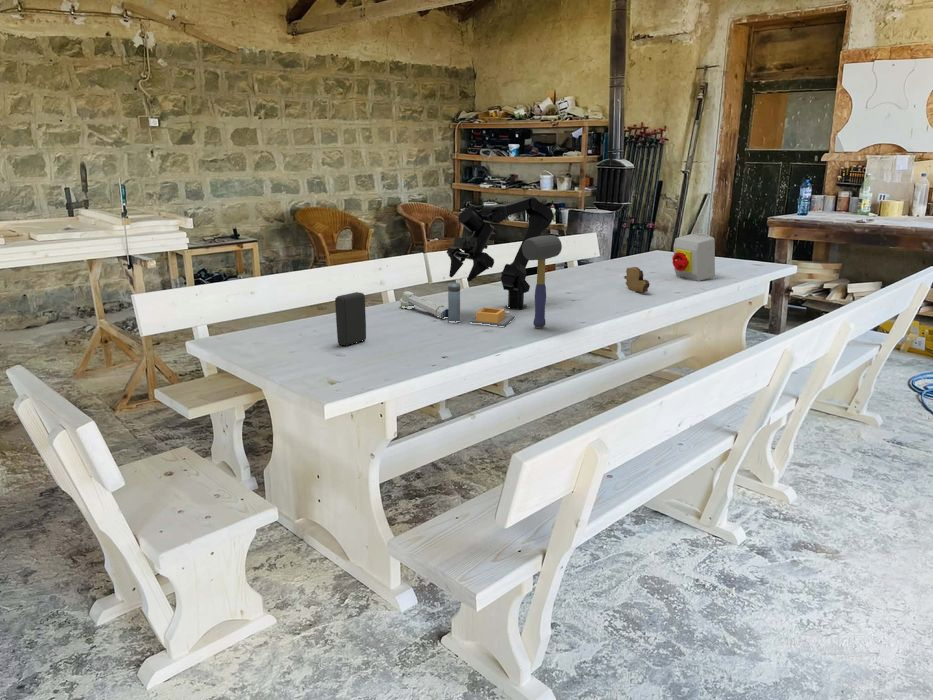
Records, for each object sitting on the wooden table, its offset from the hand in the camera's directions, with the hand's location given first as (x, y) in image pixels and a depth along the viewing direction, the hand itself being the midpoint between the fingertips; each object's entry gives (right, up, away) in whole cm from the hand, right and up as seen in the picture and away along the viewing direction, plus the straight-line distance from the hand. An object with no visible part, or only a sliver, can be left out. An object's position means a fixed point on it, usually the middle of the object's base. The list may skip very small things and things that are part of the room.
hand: (459, 278), depth 234 cm
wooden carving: (+71, 0, +49) cm, 86 cm away
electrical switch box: (+102, +8, +76) cm, 127 cm away
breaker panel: (+11, -14, +1) cm, 18 cm away
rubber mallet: (+26, -17, -6) cm, 32 cm away
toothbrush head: (-13, -11, +14) cm, 22 cm away
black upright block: (-32, -22, -24) cm, 46 cm away
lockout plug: (-2, -14, +1) cm, 15 cm away
